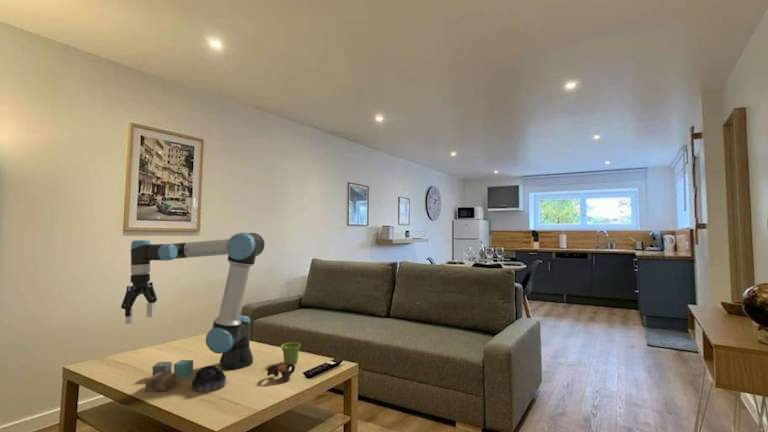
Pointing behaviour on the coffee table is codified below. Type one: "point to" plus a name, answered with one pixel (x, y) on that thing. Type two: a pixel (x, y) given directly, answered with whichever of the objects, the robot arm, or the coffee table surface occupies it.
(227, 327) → the robot arm
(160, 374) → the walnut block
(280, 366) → the brown animal figurine
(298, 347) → the plant pot
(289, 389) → the coffee table surface
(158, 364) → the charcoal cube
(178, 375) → the teal cube
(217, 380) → the crystal cluster
